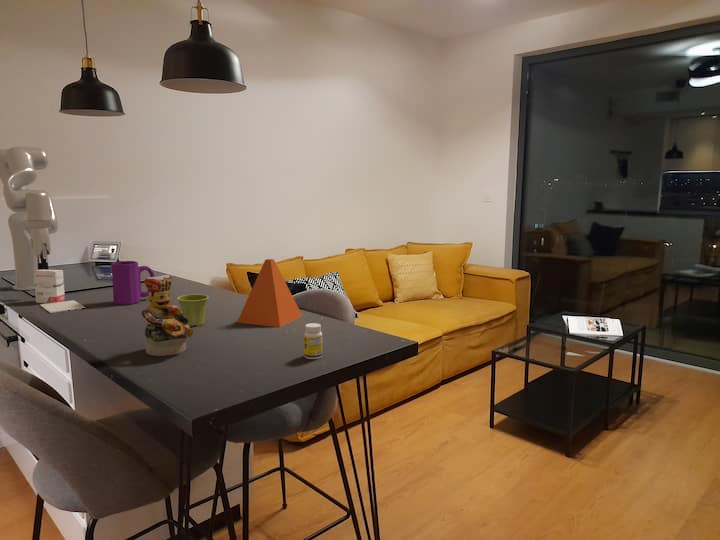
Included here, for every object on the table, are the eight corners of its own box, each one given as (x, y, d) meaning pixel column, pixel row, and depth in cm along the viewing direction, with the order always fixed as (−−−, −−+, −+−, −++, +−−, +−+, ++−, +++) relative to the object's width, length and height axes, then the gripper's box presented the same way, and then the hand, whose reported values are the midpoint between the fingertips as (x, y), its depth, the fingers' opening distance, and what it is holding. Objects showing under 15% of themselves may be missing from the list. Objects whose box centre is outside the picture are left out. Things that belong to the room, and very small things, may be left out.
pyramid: (236, 322, 169) (234, 261, 166) (262, 312, 184) (260, 255, 181) (280, 327, 164) (279, 264, 161) (302, 316, 178) (302, 257, 175)
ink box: (66, 300, 198) (63, 269, 196) (57, 303, 193) (54, 271, 191) (44, 299, 199) (41, 268, 197) (35, 302, 194) (32, 270, 192)
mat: (40, 305, 189) (39, 304, 189) (73, 301, 197) (73, 300, 197) (50, 313, 178) (50, 312, 178) (85, 308, 186) (85, 307, 186)
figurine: (144, 362, 130) (139, 282, 127) (142, 345, 144) (138, 273, 141) (195, 356, 135) (192, 279, 132) (189, 340, 149) (186, 270, 146)
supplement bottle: (304, 353, 138) (304, 322, 137) (322, 353, 138) (322, 322, 137) (303, 359, 133) (303, 327, 132) (322, 359, 134) (322, 327, 132)
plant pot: (215, 322, 169) (214, 295, 168) (197, 329, 160) (196, 301, 159) (190, 319, 172) (189, 293, 171) (171, 326, 163) (170, 299, 162)
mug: (109, 302, 196) (107, 262, 194) (151, 296, 206) (149, 258, 204) (118, 306, 189) (115, 265, 187) (161, 300, 200) (159, 261, 197)
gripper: (23, 224, 200) (27, 271, 203) (32, 226, 189) (36, 276, 192) (46, 223, 205) (49, 269, 208) (55, 225, 194) (59, 274, 197)
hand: (43, 273), depth 200 cm, fingers closed
